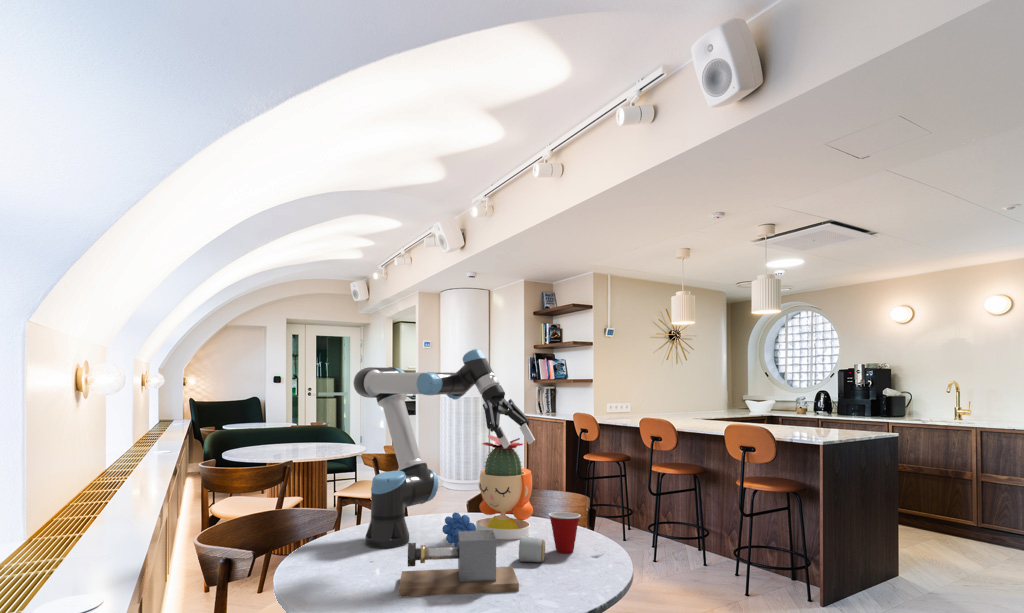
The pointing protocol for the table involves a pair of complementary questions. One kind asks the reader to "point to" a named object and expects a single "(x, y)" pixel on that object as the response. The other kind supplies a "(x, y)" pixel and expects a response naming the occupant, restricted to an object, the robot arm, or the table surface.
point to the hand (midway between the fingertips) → (520, 444)
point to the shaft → (430, 553)
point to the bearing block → (477, 556)
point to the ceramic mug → (531, 549)
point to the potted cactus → (505, 492)
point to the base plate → (453, 582)
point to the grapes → (456, 527)
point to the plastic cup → (564, 530)
